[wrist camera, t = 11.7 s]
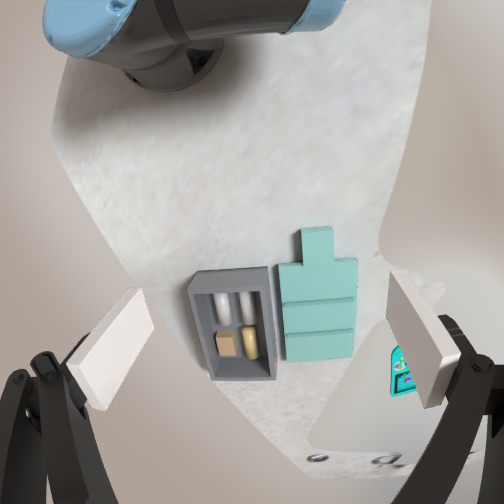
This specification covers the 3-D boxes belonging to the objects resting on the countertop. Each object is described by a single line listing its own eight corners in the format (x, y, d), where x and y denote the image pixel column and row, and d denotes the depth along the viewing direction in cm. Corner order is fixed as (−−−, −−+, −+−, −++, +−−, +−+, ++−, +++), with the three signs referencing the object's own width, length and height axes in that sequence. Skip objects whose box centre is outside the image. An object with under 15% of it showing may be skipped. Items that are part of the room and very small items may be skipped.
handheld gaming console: (433, 337, 48) (426, 388, 53) (431, 334, 48) (425, 385, 54) (392, 348, 49) (390, 398, 54) (391, 345, 50) (389, 395, 55)
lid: (275, 229, 44) (274, 235, 42) (354, 223, 43) (358, 228, 40) (287, 355, 53) (286, 364, 50) (350, 350, 51) (352, 359, 49)
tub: (197, 271, 48) (186, 289, 42) (267, 266, 46) (265, 285, 41) (217, 357, 54) (211, 380, 49) (277, 356, 53) (276, 380, 47)
